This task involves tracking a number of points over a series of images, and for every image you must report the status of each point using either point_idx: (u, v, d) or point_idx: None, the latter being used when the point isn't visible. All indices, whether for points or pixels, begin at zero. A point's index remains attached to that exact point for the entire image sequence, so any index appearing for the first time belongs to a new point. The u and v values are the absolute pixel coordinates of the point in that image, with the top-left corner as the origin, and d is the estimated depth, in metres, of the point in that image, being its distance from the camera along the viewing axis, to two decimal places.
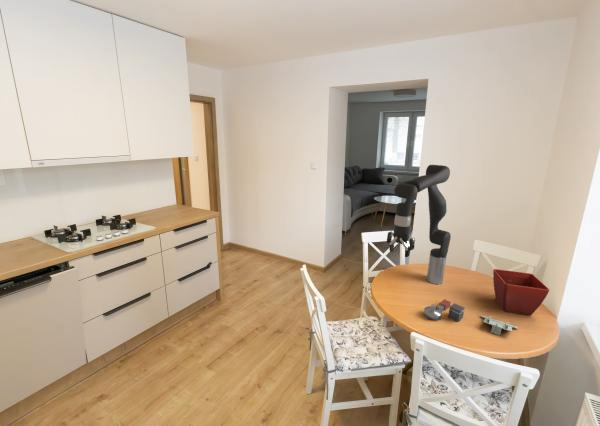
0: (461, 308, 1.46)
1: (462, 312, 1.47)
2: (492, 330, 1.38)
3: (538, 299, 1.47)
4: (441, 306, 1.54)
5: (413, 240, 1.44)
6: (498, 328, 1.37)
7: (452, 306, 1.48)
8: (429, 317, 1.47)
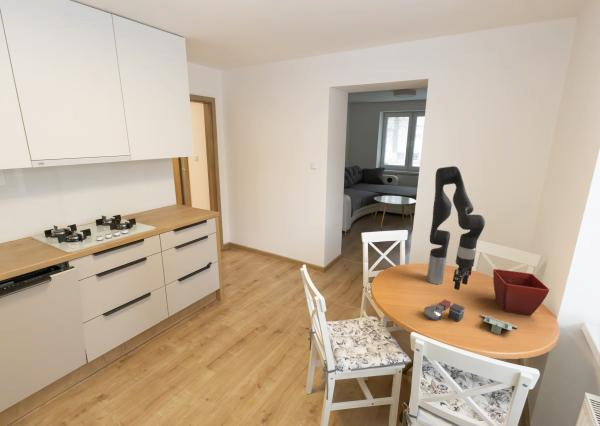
0: (461, 308, 1.46)
1: (462, 312, 1.47)
2: (492, 329, 1.39)
3: (538, 299, 1.47)
4: (441, 306, 1.54)
5: None
6: (498, 327, 1.37)
7: (452, 306, 1.48)
8: (429, 317, 1.47)
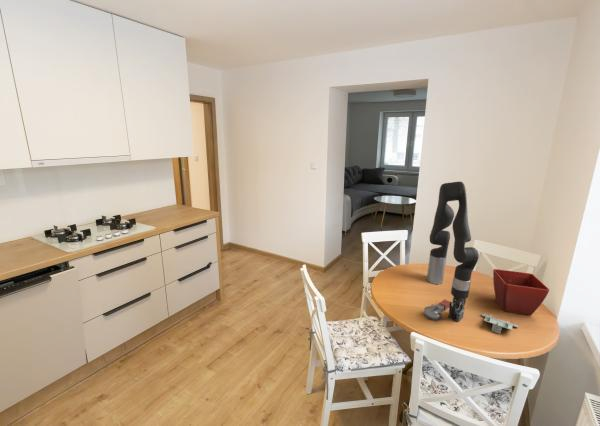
0: (461, 308, 1.46)
1: (462, 312, 1.47)
2: (493, 329, 1.39)
3: (538, 299, 1.47)
4: (441, 306, 1.54)
5: None
6: (498, 327, 1.38)
7: None
8: (429, 317, 1.47)
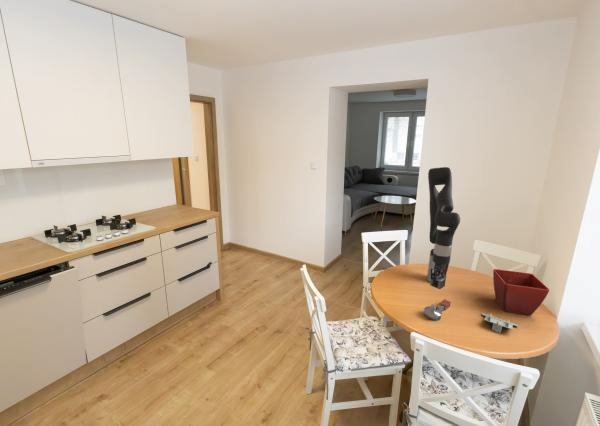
0: (443, 275, 1.43)
1: (444, 279, 1.43)
2: (493, 328, 1.40)
3: (538, 299, 1.47)
4: (441, 306, 1.54)
5: None
6: (499, 326, 1.38)
7: None
8: (429, 317, 1.47)
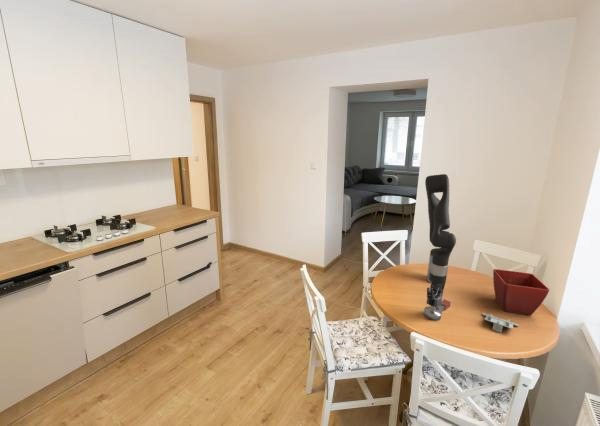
0: (439, 294, 1.46)
1: (440, 298, 1.46)
2: (493, 327, 1.40)
3: (538, 299, 1.47)
4: (441, 306, 1.54)
5: None
6: (499, 325, 1.39)
7: None
8: (429, 317, 1.47)
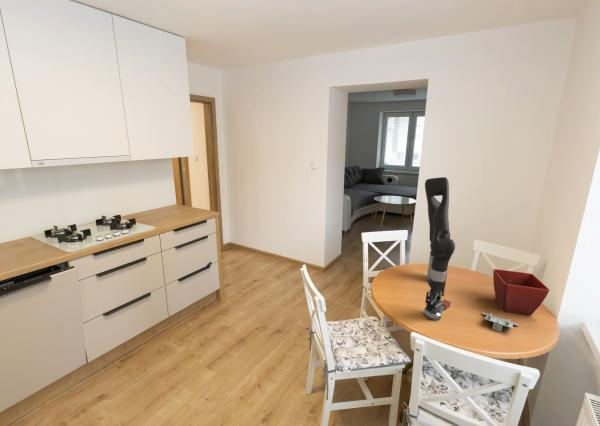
0: (438, 301, 1.47)
1: (439, 305, 1.47)
2: (493, 327, 1.40)
3: (538, 299, 1.47)
4: (441, 306, 1.54)
5: None
6: (499, 325, 1.39)
7: None
8: (429, 317, 1.47)
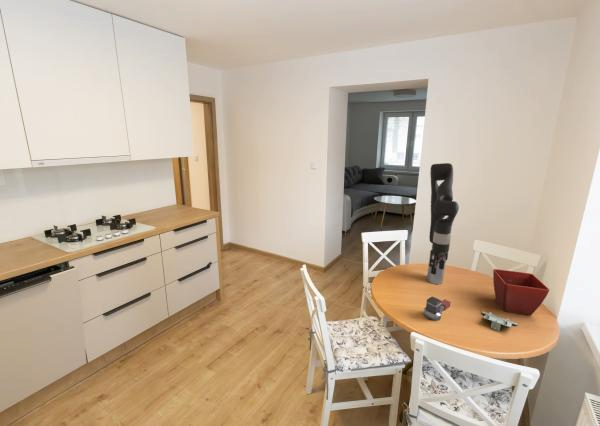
0: (438, 301, 1.47)
1: (439, 305, 1.47)
2: (492, 326, 1.41)
3: (538, 299, 1.47)
4: (441, 306, 1.54)
5: None
6: (498, 324, 1.40)
7: (429, 299, 1.48)
8: (429, 317, 1.47)
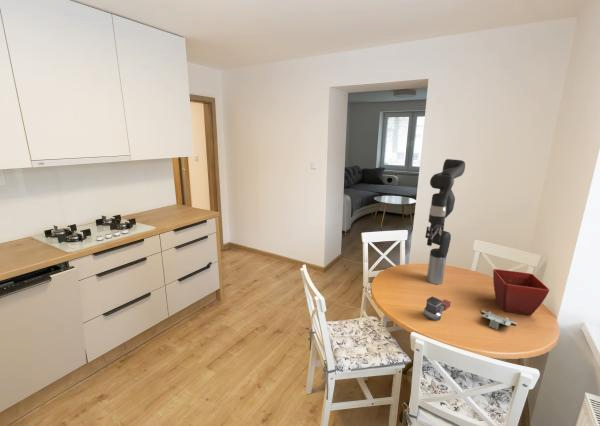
0: (438, 301, 1.47)
1: (439, 305, 1.47)
2: (490, 324, 1.42)
3: (538, 299, 1.47)
4: (441, 306, 1.54)
5: None
6: (496, 322, 1.41)
7: (429, 299, 1.48)
8: (429, 317, 1.47)
